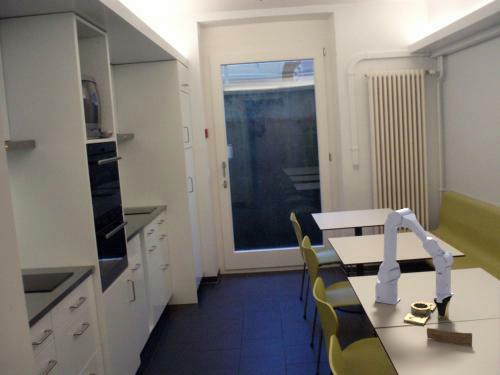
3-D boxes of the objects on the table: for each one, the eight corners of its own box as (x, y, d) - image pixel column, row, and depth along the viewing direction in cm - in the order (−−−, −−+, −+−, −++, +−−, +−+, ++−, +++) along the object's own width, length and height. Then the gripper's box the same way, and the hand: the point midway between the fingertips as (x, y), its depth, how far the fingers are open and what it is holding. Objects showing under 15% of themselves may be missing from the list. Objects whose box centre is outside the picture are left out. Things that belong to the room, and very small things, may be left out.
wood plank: (472, 345, 171) (472, 332, 171) (472, 347, 170) (472, 334, 169) (427, 338, 178) (427, 326, 177) (426, 340, 176) (426, 328, 176)
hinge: (403, 321, 193) (403, 313, 193) (418, 303, 211) (418, 295, 211) (423, 325, 189) (423, 317, 188) (436, 306, 207) (436, 298, 206)
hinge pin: (435, 318, 194) (435, 302, 193) (438, 314, 198) (438, 298, 197) (448, 321, 192) (448, 304, 191) (450, 316, 196) (450, 300, 195)
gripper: (449, 289, 185) (449, 321, 187) (457, 277, 196) (457, 308, 198) (431, 286, 189) (431, 318, 191) (439, 275, 200) (439, 305, 202)
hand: (443, 313), depth 195 cm, fingers closed on hinge pin, 5 cm apart
